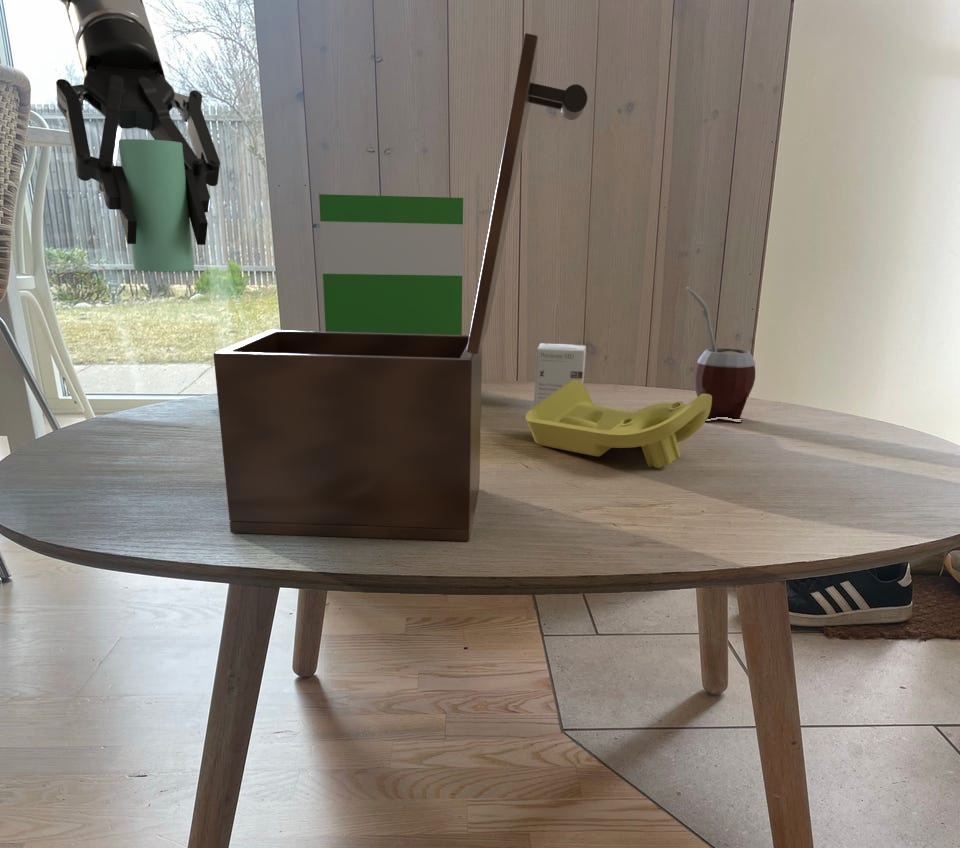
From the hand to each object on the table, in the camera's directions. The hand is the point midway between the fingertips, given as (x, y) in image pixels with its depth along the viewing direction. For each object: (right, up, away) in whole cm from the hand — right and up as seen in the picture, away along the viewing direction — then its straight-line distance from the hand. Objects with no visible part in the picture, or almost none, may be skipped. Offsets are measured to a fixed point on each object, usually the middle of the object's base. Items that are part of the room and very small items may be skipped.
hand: (167, 233), depth 85 cm
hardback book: (+17, -4, +41) cm, 45 cm away
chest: (+20, -27, -10) cm, 35 cm away
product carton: (+39, -8, +34) cm, 52 cm away
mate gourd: (+58, -11, +27) cm, 65 cm away
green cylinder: (-2, -2, +4) cm, 5 cm away
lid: (+30, -7, -20) cm, 37 cm away
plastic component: (+43, -19, +9) cm, 47 cm away
